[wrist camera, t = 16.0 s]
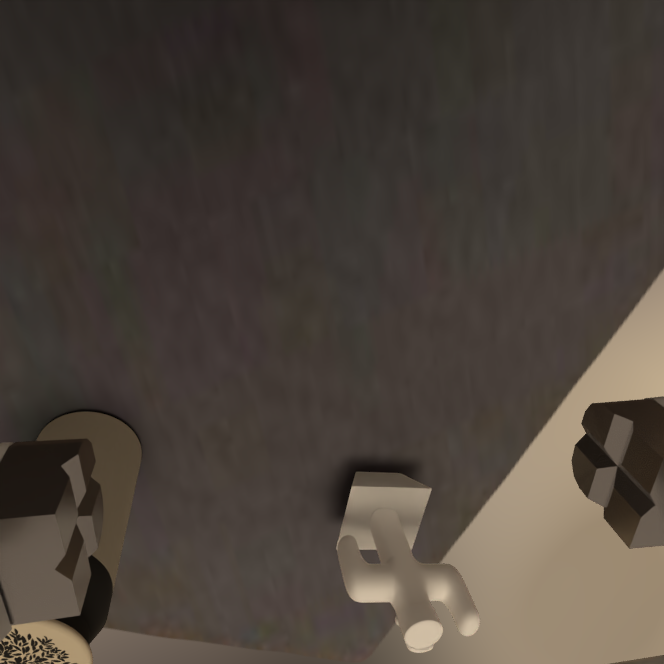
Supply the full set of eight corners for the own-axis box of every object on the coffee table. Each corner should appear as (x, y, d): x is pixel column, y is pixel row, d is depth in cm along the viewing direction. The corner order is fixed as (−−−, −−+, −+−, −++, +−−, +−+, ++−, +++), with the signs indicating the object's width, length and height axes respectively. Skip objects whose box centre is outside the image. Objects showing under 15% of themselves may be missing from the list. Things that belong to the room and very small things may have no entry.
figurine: (331, 457, 49) (370, 605, 35) (429, 461, 51) (501, 602, 38) (317, 518, 52) (348, 677, 38) (411, 520, 54) (470, 670, 41)
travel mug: (118, 397, 42) (54, 598, 27) (157, 472, 46) (120, 688, 30) (17, 425, 42) (-109, 647, 26) (64, 499, 46) (-22, 732, 30)
